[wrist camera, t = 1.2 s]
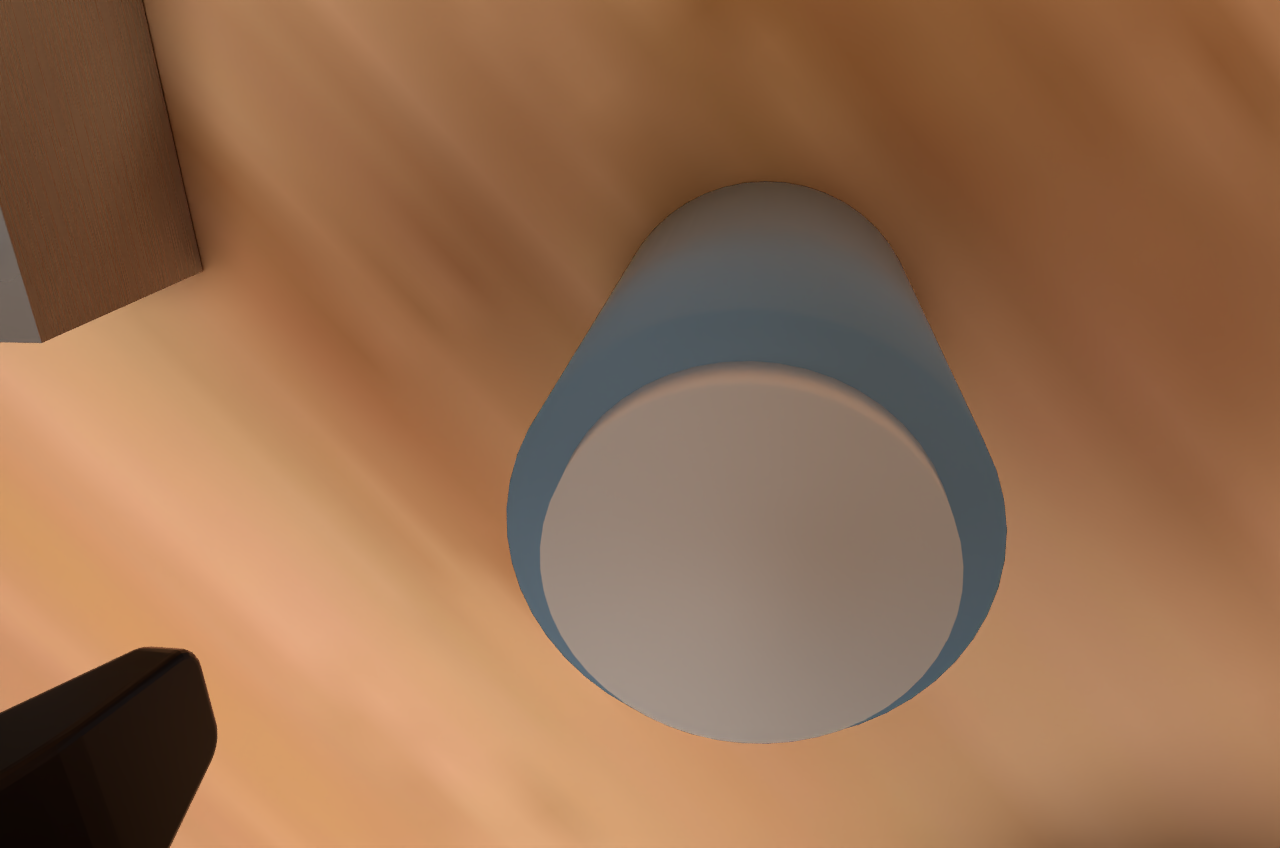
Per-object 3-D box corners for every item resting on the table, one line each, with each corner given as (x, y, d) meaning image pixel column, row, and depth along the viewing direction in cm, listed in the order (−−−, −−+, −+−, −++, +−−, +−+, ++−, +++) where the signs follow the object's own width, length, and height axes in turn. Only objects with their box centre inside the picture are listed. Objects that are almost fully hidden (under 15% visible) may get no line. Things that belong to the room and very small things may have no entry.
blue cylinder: (901, 469, 16) (985, 799, 10) (621, 459, 17) (512, 760, 10) (927, 180, 14) (1059, 333, 7) (609, 182, 15) (464, 325, 8)
